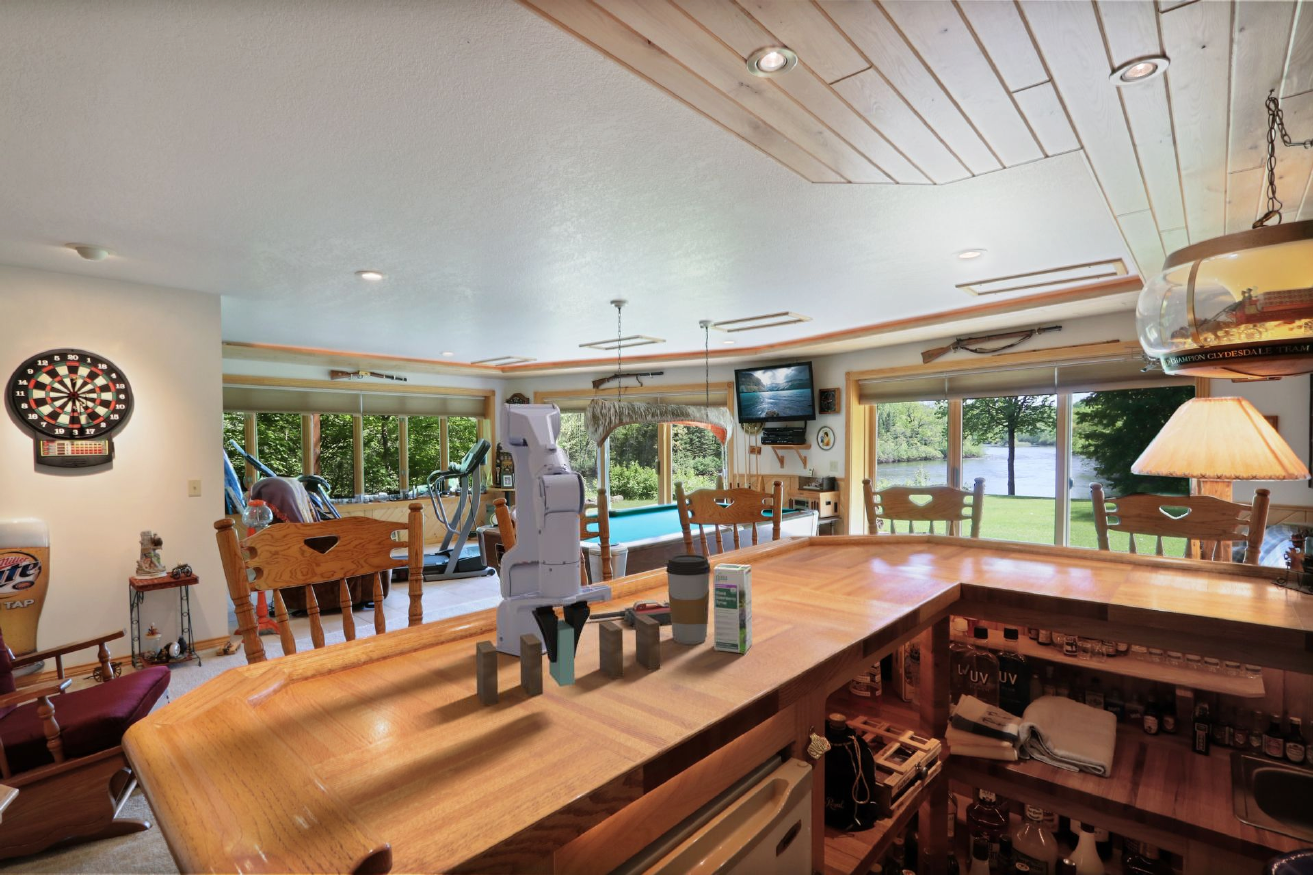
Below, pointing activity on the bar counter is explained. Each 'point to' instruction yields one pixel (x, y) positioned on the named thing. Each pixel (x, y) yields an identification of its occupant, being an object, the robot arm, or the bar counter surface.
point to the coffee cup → (688, 597)
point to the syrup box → (732, 608)
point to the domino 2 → (531, 664)
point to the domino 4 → (611, 649)
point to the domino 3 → (564, 655)
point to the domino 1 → (487, 672)
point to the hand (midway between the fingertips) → (561, 658)
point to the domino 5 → (647, 642)
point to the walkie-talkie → (641, 612)
